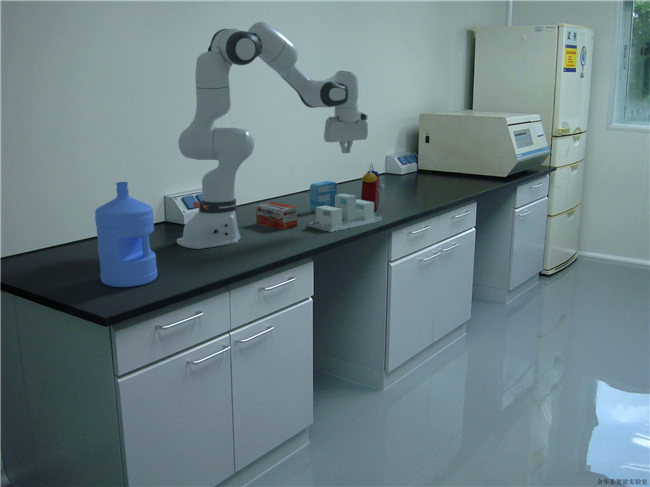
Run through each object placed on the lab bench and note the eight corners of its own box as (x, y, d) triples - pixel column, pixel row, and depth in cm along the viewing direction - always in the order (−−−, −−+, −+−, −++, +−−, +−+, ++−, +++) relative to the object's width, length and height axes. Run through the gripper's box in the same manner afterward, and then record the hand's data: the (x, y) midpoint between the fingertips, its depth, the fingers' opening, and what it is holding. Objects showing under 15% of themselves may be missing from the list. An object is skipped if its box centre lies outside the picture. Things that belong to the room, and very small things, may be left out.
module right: (365, 219, 258) (365, 204, 256) (348, 215, 264) (348, 200, 263) (374, 217, 261) (374, 202, 260) (357, 213, 268) (357, 199, 266)
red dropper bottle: (365, 206, 290) (366, 160, 285) (385, 207, 288) (386, 161, 283) (360, 213, 276) (361, 165, 271) (381, 214, 274) (382, 166, 269)
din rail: (331, 232, 243) (331, 226, 243) (307, 226, 252) (307, 221, 252) (381, 220, 262) (381, 215, 261) (358, 215, 271) (358, 210, 271)
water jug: (89, 284, 185) (79, 185, 177) (124, 269, 199) (116, 177, 192) (135, 291, 179) (127, 189, 172) (168, 274, 193) (162, 180, 186)
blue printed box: (317, 213, 276) (317, 185, 273) (309, 211, 279) (309, 183, 276) (337, 209, 284) (337, 181, 281) (329, 207, 287) (329, 180, 284)
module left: (332, 226, 246) (332, 210, 244) (315, 222, 252) (315, 207, 251) (341, 224, 249) (342, 208, 248) (325, 220, 256) (325, 205, 254)
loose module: (347, 220, 253) (347, 197, 250) (334, 217, 258) (334, 194, 255) (355, 218, 256) (356, 195, 253) (343, 215, 261) (343, 193, 258)
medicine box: (256, 224, 257) (255, 204, 255) (271, 220, 263) (271, 201, 261) (282, 230, 247) (282, 209, 245) (298, 226, 253) (298, 206, 251)
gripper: (332, 117, 238) (332, 155, 241) (370, 115, 251) (370, 151, 255) (320, 116, 242) (320, 154, 245) (358, 114, 256) (358, 150, 259)
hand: (346, 153), depth 250 cm, fingers closed
